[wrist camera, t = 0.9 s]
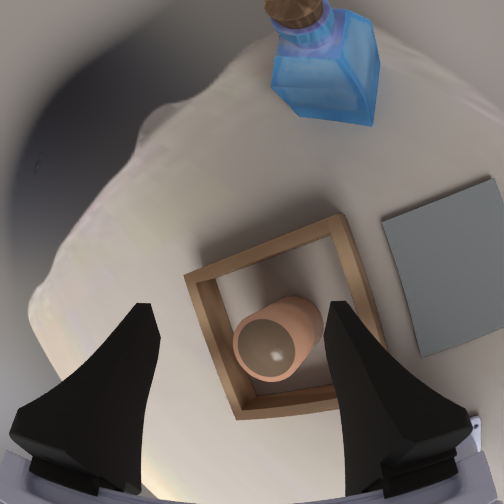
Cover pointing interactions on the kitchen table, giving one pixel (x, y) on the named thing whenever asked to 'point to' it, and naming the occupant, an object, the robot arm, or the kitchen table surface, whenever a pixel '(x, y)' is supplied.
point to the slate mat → (452, 266)
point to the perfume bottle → (324, 61)
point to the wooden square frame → (222, 335)
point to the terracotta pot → (277, 338)
